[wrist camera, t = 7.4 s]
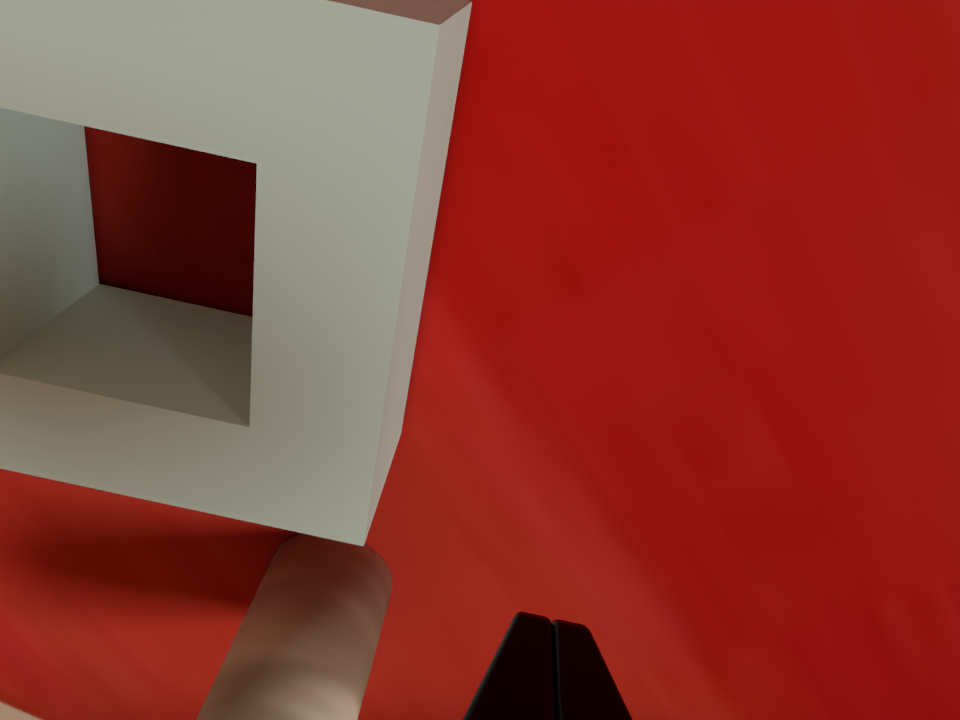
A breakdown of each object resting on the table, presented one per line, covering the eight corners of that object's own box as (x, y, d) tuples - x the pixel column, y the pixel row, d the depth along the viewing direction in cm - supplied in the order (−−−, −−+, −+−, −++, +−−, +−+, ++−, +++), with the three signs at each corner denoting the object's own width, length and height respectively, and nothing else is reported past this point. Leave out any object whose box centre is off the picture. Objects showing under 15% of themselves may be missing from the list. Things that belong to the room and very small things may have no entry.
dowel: (399, 546, 23) (313, 863, 15) (384, 628, 25) (301, 944, 17) (274, 519, 23) (122, 823, 15) (269, 604, 25) (134, 909, 17)
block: (471, 1, 14) (440, 25, 11) (400, 434, 20) (363, 546, 16) (-71, -119, 14) (-291, -137, 11) (11, 349, 20) (-114, 444, 16)
